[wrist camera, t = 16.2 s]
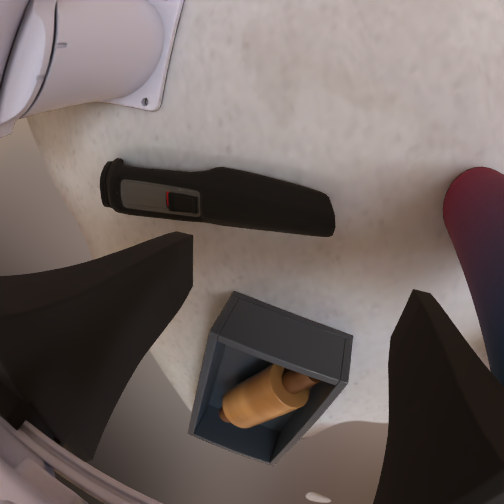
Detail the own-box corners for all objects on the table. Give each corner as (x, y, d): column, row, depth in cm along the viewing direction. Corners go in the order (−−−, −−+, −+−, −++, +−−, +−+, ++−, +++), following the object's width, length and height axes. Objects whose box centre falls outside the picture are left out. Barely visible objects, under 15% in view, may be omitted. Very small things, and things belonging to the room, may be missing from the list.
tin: (204, 401, 32) (187, 433, 28) (233, 290, 23) (209, 331, 19) (284, 431, 30) (273, 466, 27) (353, 335, 22) (348, 383, 18)
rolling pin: (212, 388, 28) (204, 425, 25) (293, 337, 22) (291, 386, 19) (246, 402, 29) (242, 438, 26) (331, 357, 23) (333, 403, 20)
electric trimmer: (332, 238, 19) (328, 264, 17) (117, 203, 23) (90, 220, 20) (342, 179, 17) (340, 196, 15) (113, 154, 21) (83, 166, 18)
